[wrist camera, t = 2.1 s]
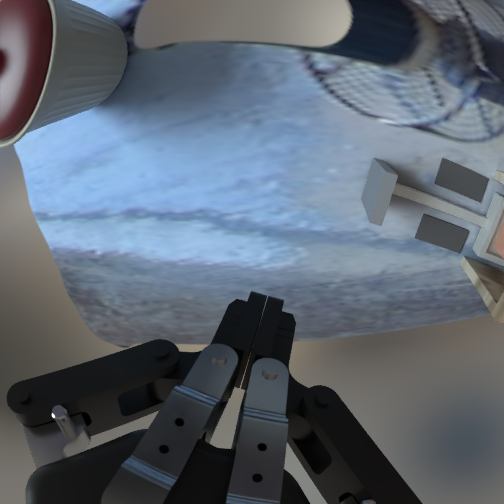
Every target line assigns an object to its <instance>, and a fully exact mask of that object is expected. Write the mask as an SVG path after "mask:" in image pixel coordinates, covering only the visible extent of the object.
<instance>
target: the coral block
mask: <svg viewBox="0 0 504 504" xmlns="http://www.w3.org/2000/svg"><path fill="white" fill-rule="evenodd" d="M493 248H494V249H495V250H496V251H497V252H498V253H499V254H500V255H501V256H502V258H503V259H504V223H503V225H502V227H501V230H500V232H499V235H498V237H497V239H496V242H495V244H494V246H493Z"/></svg>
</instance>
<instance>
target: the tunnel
mask: <svg viewBox="0 0 504 504" xmlns="http://www.w3.org/2000/svg"><path fill="white" fill-rule="evenodd" d="M494 179H495V180H497V181H499V182H500V183H502V184H504V173H502V172H500V171H498V170H496V173H495V177H494ZM460 265H461V266H462V268H463V269H464V271H465V272H466V274H467V275H468V277H469V278H470V280H471V281H472V283H473V285H474V286H475V288H476V289H477V291H478V292H479V294H480V296H481V297H482V299H483V301H484V302H485V304H486V306H487V307H488V309H489V311H490V312H491V314H492V316H493V317H494V319H495V321H496V322H500V323H504V271H503V270H501V269H498V268H495V267H492V266H490V265H487V264H484V263H482V262H479V261H476V260H473V259H470V258H468V257H465V256H463V258H462V260H461V262H460Z"/></svg>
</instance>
